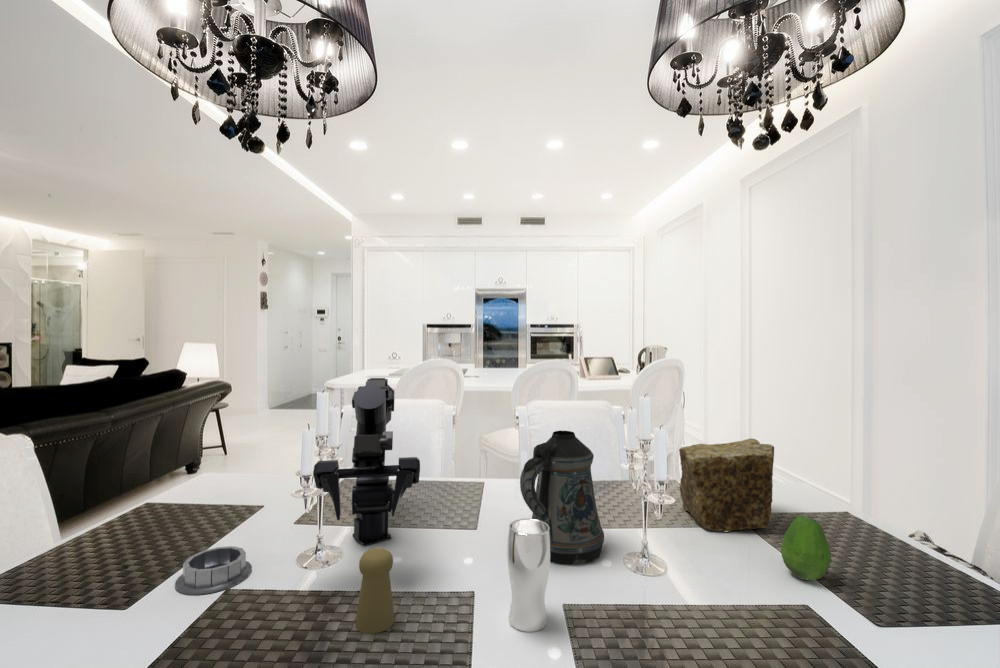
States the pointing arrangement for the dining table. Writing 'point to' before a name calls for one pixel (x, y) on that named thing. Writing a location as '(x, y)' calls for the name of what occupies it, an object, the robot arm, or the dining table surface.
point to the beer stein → (564, 498)
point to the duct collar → (213, 571)
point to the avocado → (806, 549)
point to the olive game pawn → (375, 592)
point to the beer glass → (528, 572)
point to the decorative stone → (728, 484)
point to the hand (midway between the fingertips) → (365, 517)
